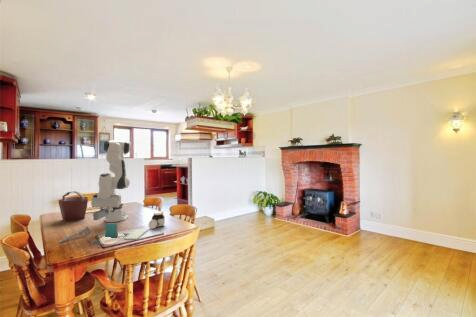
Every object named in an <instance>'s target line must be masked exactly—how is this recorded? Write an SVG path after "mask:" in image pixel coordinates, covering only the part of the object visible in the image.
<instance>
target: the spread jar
mask: <svg viewBox="0 0 476 317" xmlns="http://www.w3.org/2000/svg"><path fill="white" fill-rule="evenodd" d="M165 218H166V217H165V215H164V214H163V211H154V212H153V216H152V217H151V220H150V221H149V222H148V228H149V229H152V230H154V229H156V228H157V229H158V228H162V227H163V226H165V224H166V223H165V221H166V219H165Z"/></svg>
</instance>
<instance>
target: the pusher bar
mask: <svg viewBox="0 0 476 317" xmlns="http://www.w3.org/2000/svg"><path fill="white" fill-rule="evenodd" d="M108 210H109V209H108V208H107V207H103V209H101V210H100V209H99V210H97V211H95V212H93V215H92V216H93V218H92V220H93V221H99V220H100V219H103V218H105V216H107V215H109V214H110V213H107V211H108Z"/></svg>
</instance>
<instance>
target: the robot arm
mask: <svg viewBox="0 0 476 317" xmlns="http://www.w3.org/2000/svg"><path fill="white" fill-rule="evenodd" d="M102 148H103V151H105V152H106V156H105V160H106V161H107V163H109V167H108V170H109V172H111V173H105V172H104V173H101V174H99V177H98V188H99V189H98V192H97V193H95V194H91V195H92V196H91V201H90V205H91V207H92V208H99V210H101V209H104V208H108V209H109V210H108V211H107V213H110V214H109V215H107V216H105V217H104V219H103V221H105V222H106V223H118V222H120V221H125V220H127V219H128V218H129V216H130V215H128V214H127V210H125V209H124V207H123V206H124V203H122V196H121V194H120V193H118V192H116V190H124V189H127V188H128V187H130V183H131V182H130V179H129V178H128V177H127V174H126V172H127V171H126V164H125V160H124V156H125V155H127V154H128V153H130V151H131V149H132V148H131V144H130V142H128V141H122V140H106V141H104V142H103V146H102ZM112 174H114V176H112Z"/></svg>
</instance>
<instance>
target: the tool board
mask: <svg viewBox="0 0 476 317" xmlns="http://www.w3.org/2000/svg"><path fill="white" fill-rule="evenodd" d="M148 230H149V229H145V228H144V229H139V228H138V229H137V228H136V229H135V230H133V231H132V232H131V233H130V234H127V235H126V236H125V237H123V240H124V241H126V240H127V241H128V240H129V241H137V240H139V239H140V238H141V237H142V236H143V235H144V234H146V233H147V232H148Z"/></svg>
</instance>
